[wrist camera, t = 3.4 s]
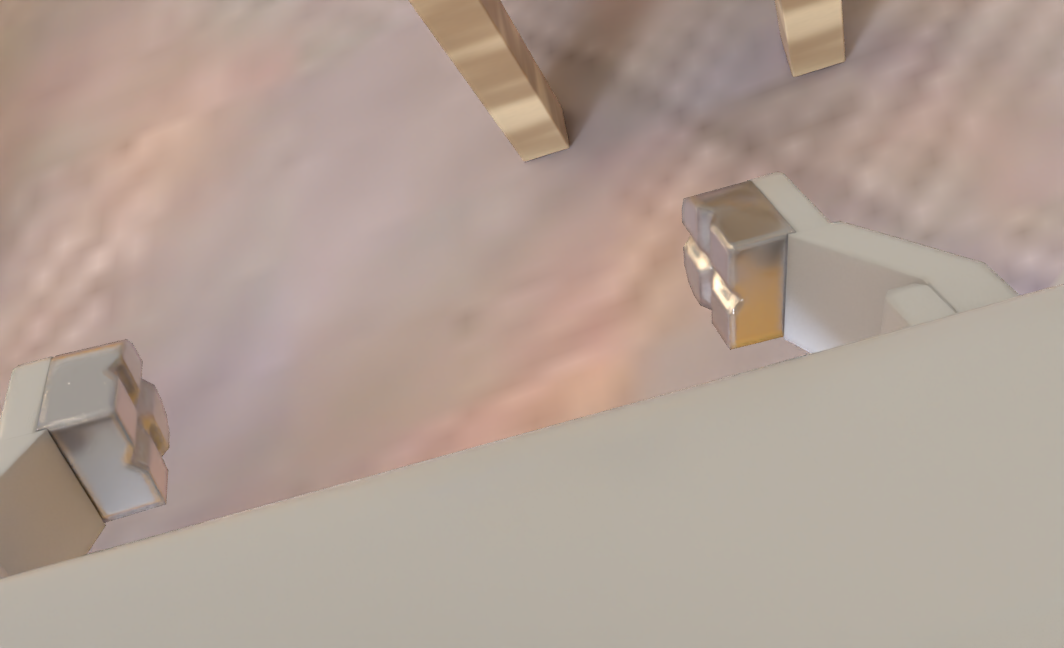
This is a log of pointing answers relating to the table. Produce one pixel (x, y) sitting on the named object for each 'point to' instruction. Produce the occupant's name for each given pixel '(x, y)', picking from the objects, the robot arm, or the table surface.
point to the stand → (525, 96)
